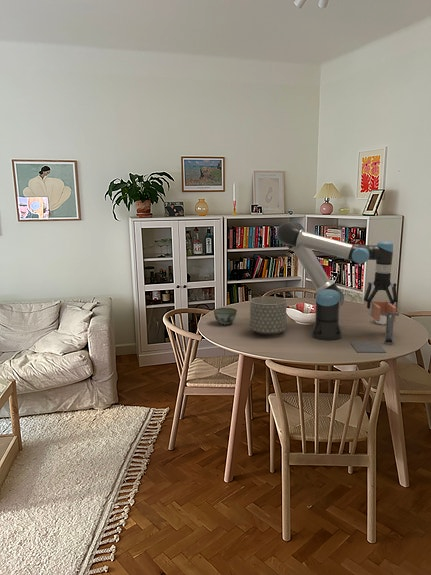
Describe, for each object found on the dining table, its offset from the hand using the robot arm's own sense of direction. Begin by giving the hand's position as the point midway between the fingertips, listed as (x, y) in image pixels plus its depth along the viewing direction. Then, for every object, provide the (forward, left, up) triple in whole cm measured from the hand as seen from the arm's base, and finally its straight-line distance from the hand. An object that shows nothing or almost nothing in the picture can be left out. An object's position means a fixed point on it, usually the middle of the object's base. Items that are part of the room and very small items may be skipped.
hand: (379, 314), depth 218 cm
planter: (-57, 0, -10) cm, 58 cm away
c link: (0, -4, 0) cm, 5 cm away
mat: (-11, -23, -10) cm, 27 cm away
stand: (+1, -15, -10) cm, 18 cm away
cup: (+8, +20, -10) cm, 24 cm away
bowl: (-81, +18, -10) cm, 84 cm away
